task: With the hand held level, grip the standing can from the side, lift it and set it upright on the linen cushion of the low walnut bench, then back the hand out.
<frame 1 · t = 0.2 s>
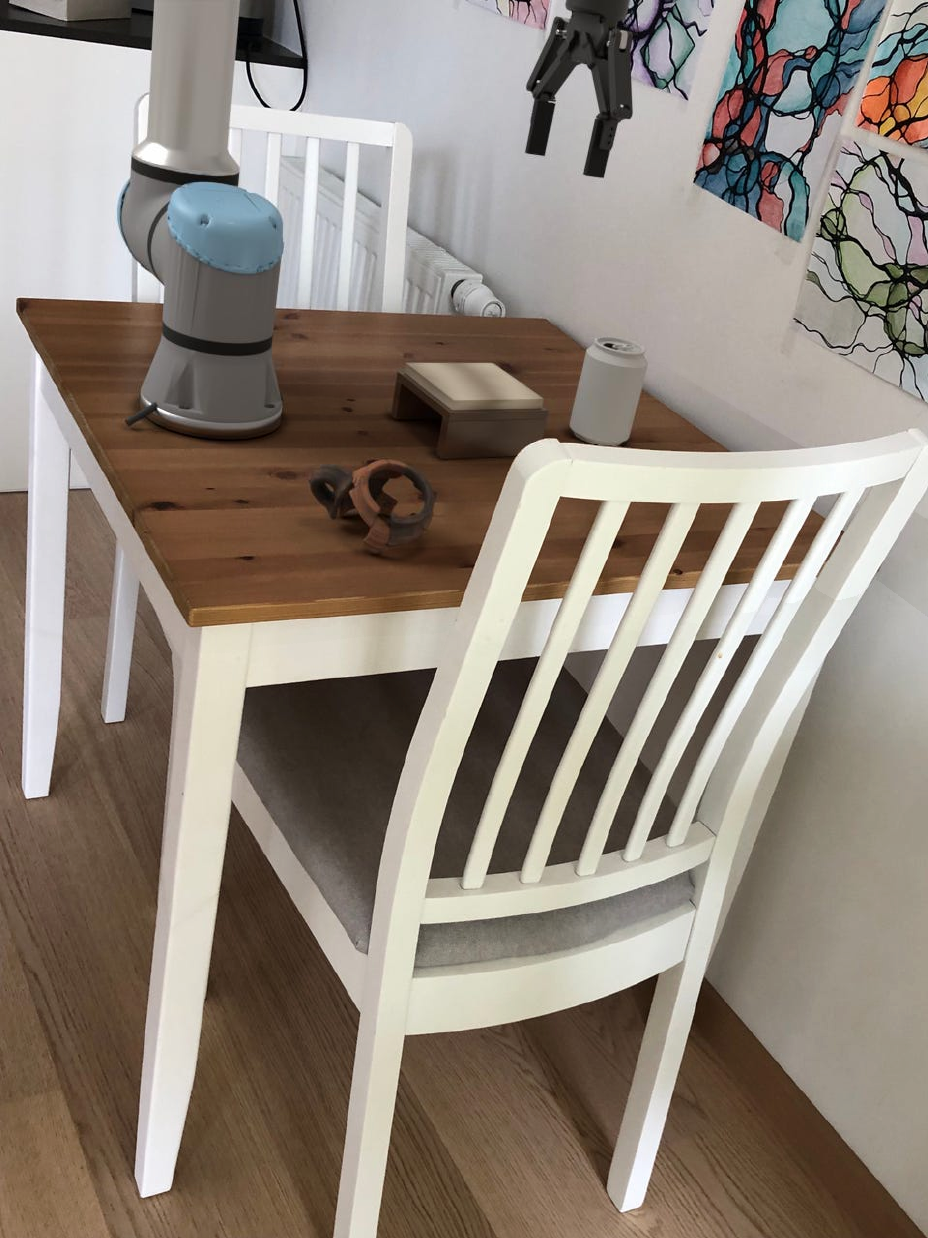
hand: (563, 165, 157), 27 cm above the table, tool pointing down, fingers open, 13 cm apart
can: (597, 438, 152), on the table
broken clay pot: (365, 533, 117), on the table
bench: (464, 435, 145), on the table
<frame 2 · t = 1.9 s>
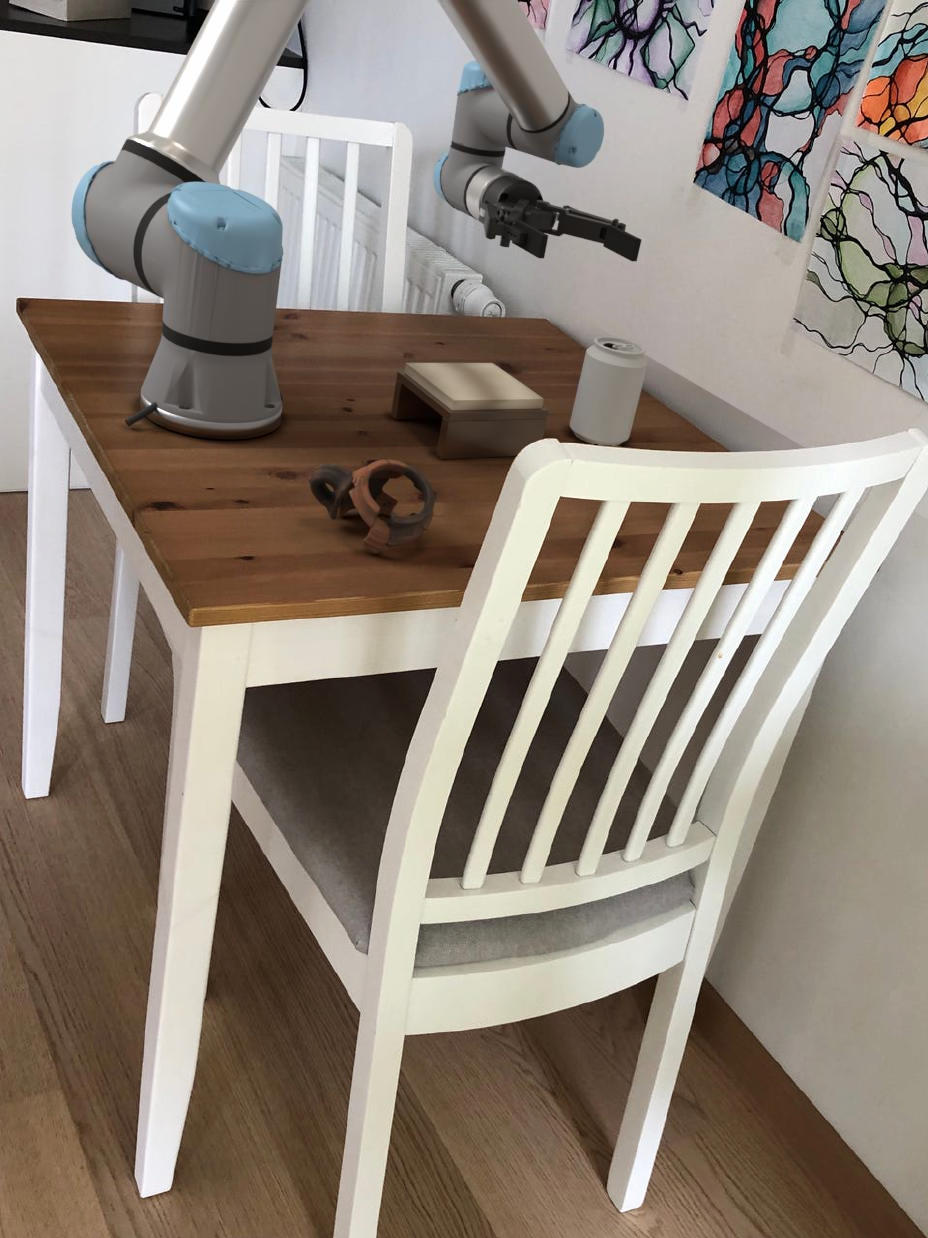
hand: (591, 248, 149), 21 cm above the table, tool horizontal, fingers open, 13 cm apart
nothing on the table moved.
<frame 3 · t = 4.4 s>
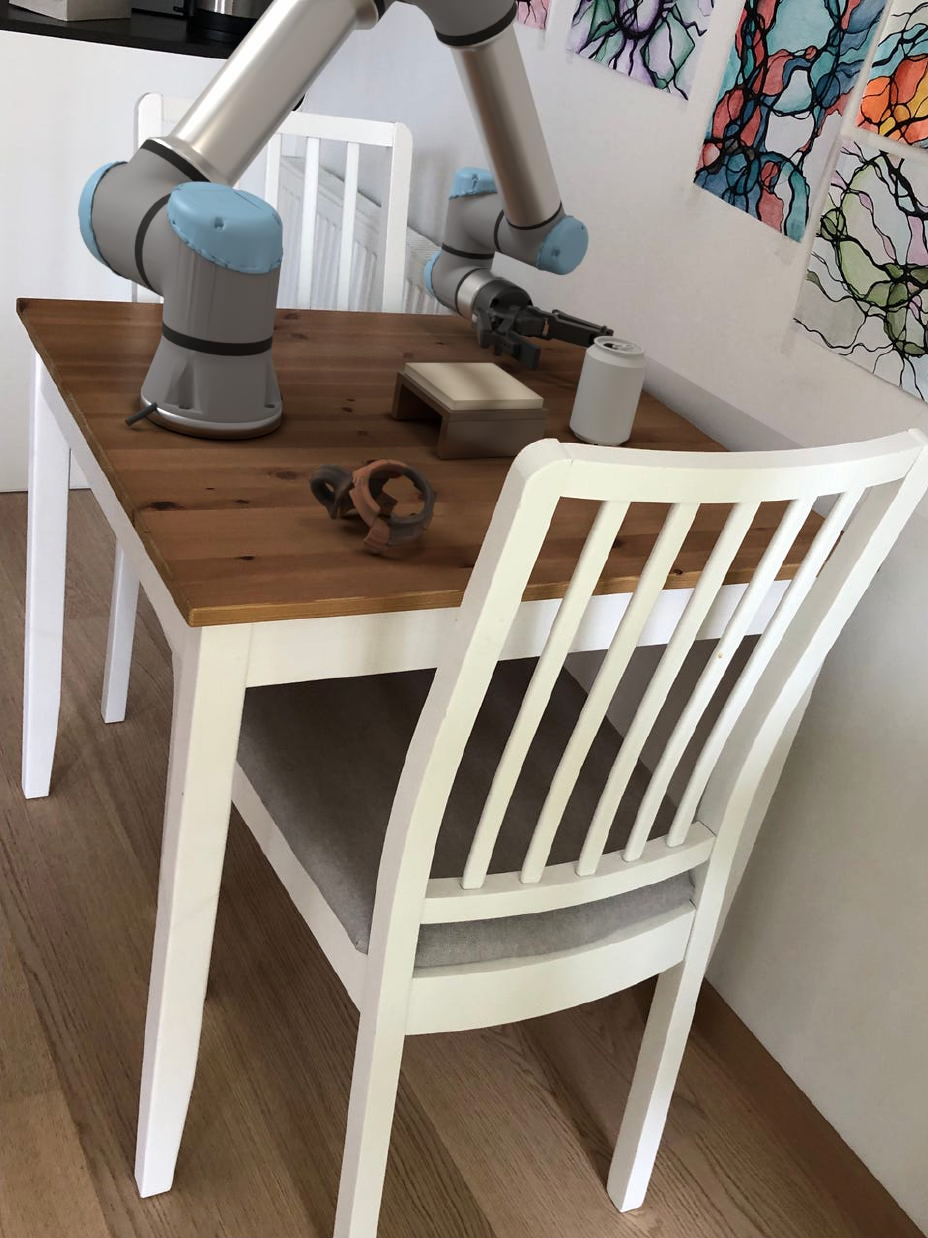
hand: (582, 359, 153), 8 cm above the table, tool horizontal, fingers open, 13 cm apart
nothing on the table moved.
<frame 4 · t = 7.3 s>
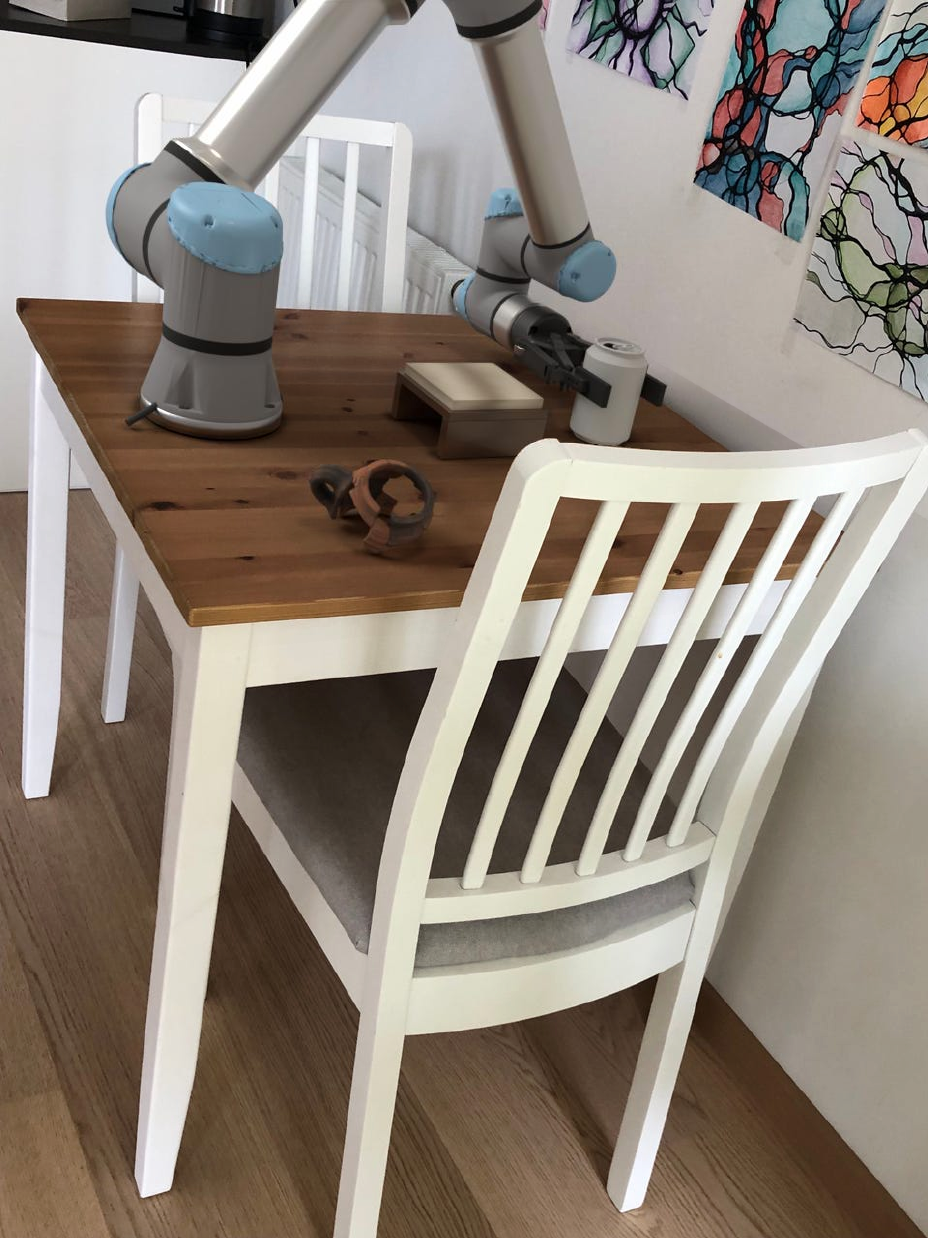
hand: (634, 396, 145), 7 cm above the table, tool horizontal, fingers closed on can, 7 cm apart
can: (597, 438, 152), on the table, touching gripper
everything else where it was.
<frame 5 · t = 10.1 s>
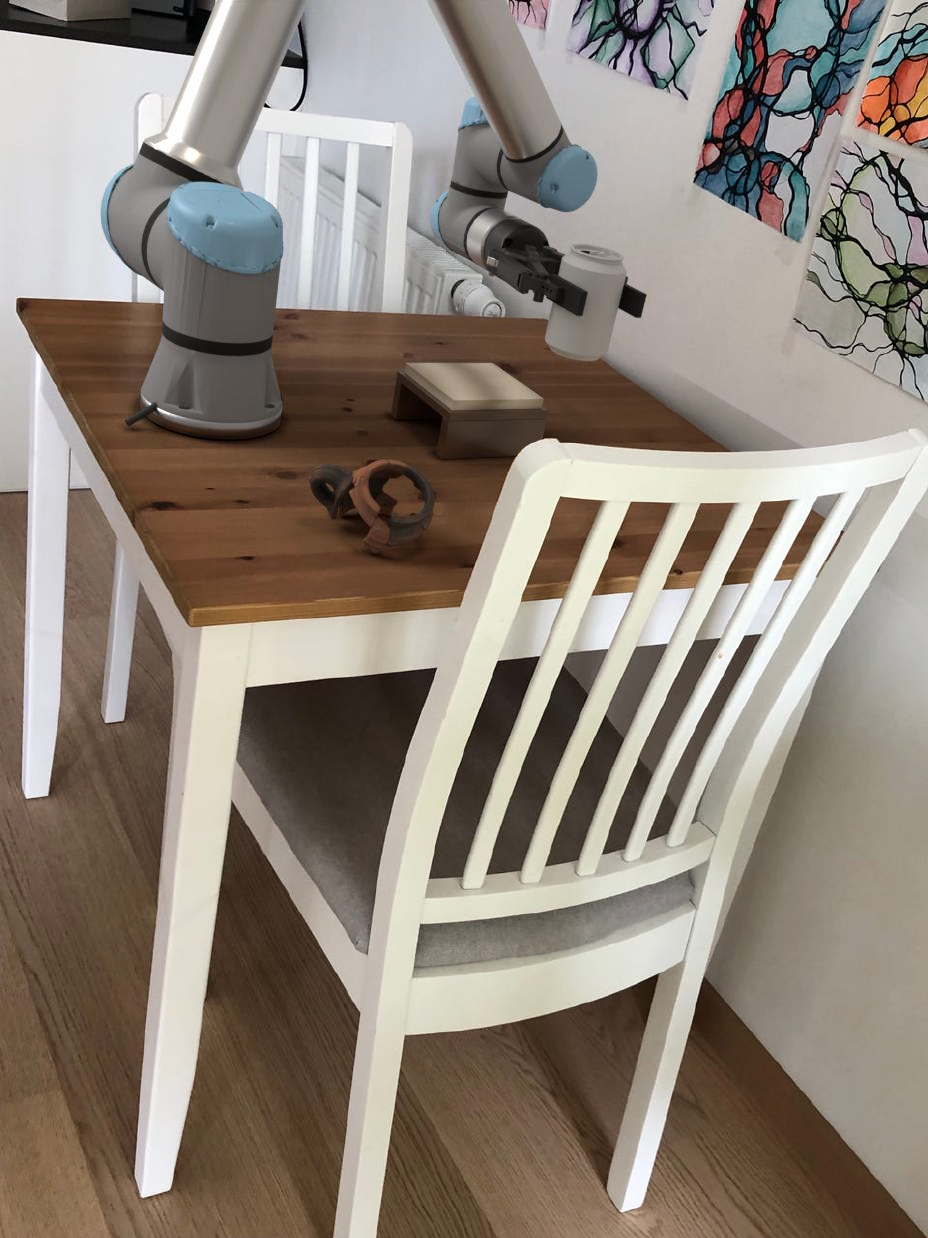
hand: (612, 304, 138), 18 cm above the table, tool horizontal, fingers closed on can, 7 cm apart
can: (574, 354, 145), point 10 cm above the table, touching gripper
everything else where it was.
when the fingers open (14 cm above the table, at t = 13.3 s): can stays where it is, resting on bench.
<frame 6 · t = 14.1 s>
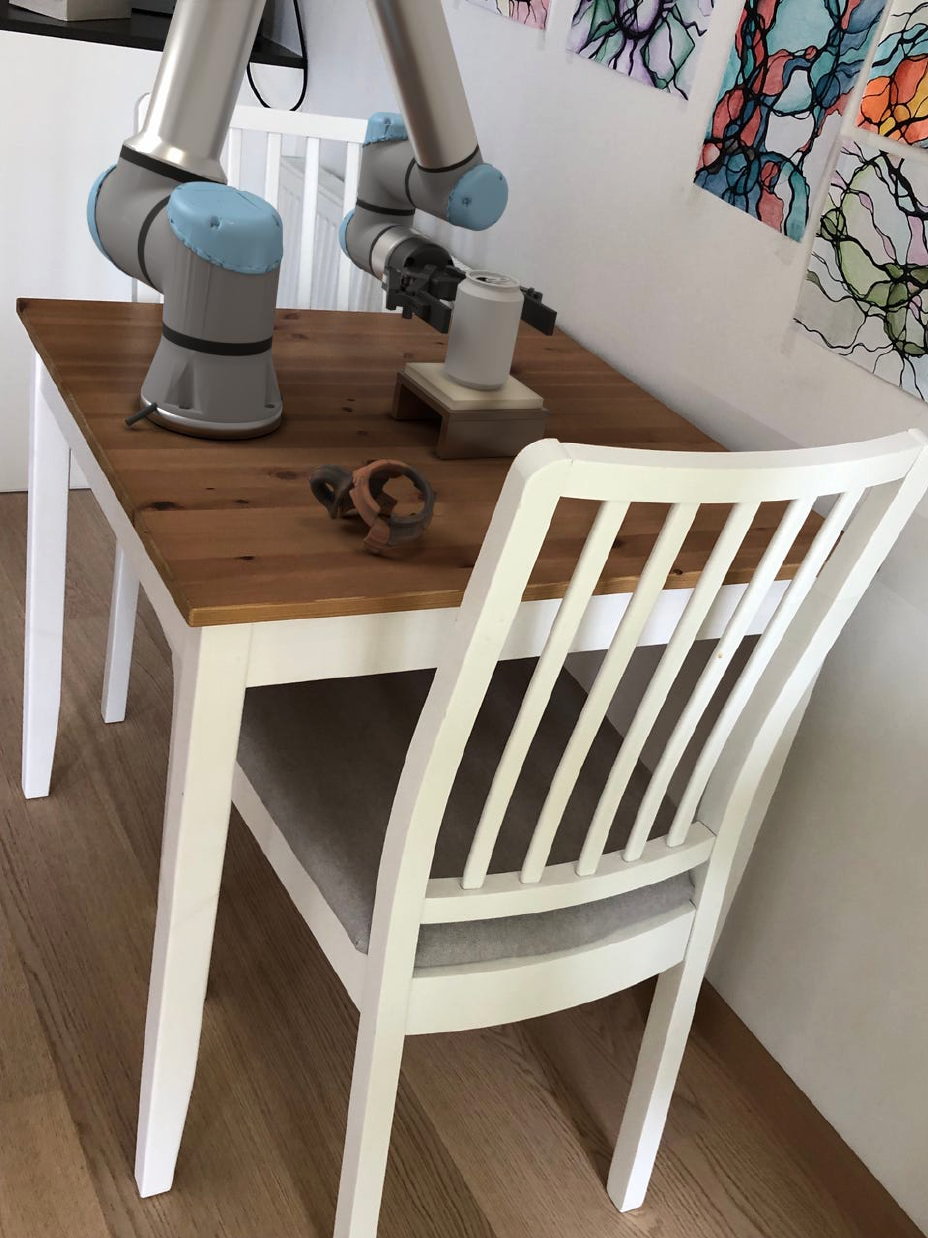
hand: (501, 322, 135), 15 cm above the table, tool horizontal, fingers open, 13 cm apart
can: (474, 381, 142), point 7 cm above the table, touching bench
everything else where it was.
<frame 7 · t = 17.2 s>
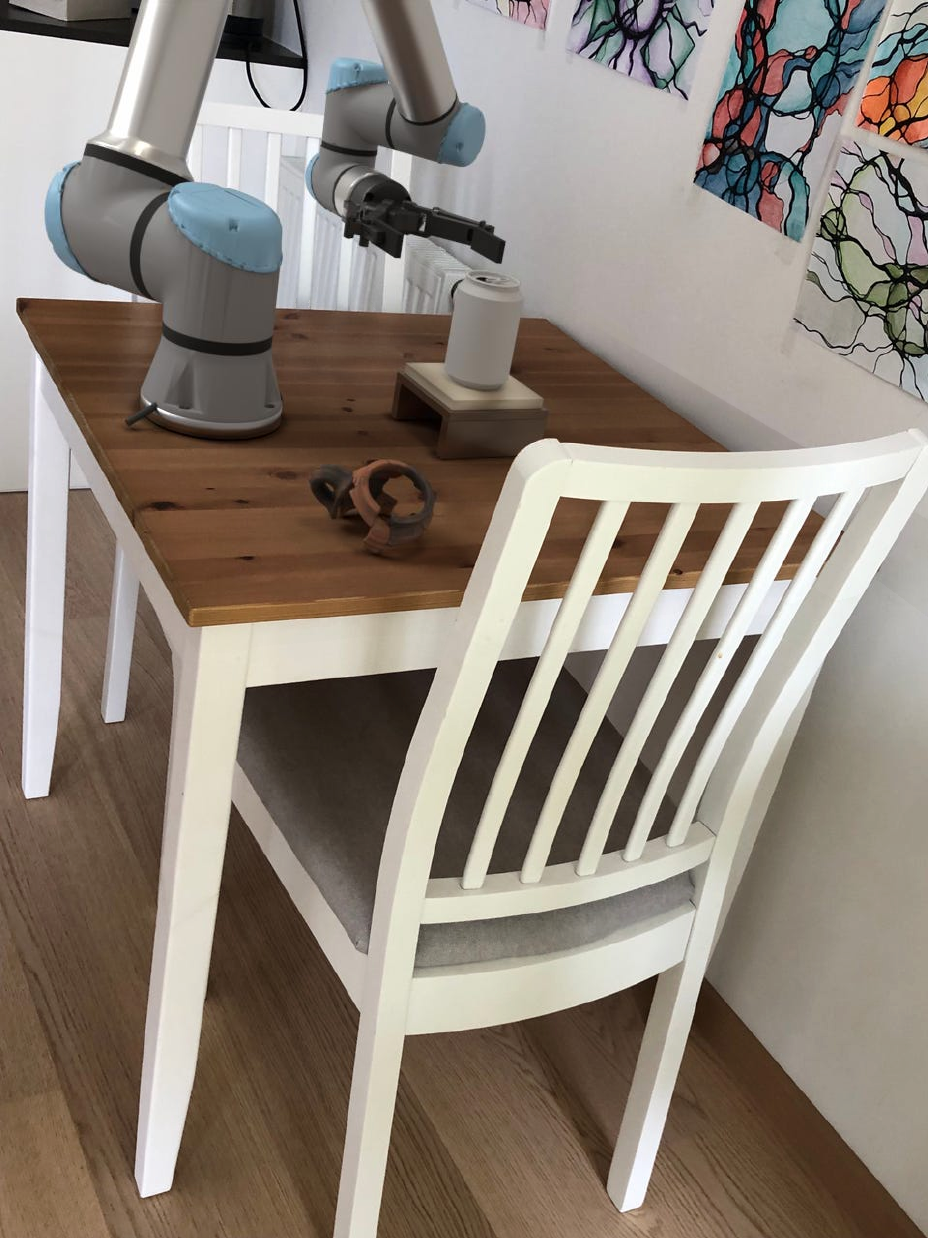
hand: (451, 249, 144), 19 cm above the table, tool horizontal, fingers open, 13 cm apart
nothing on the table moved.
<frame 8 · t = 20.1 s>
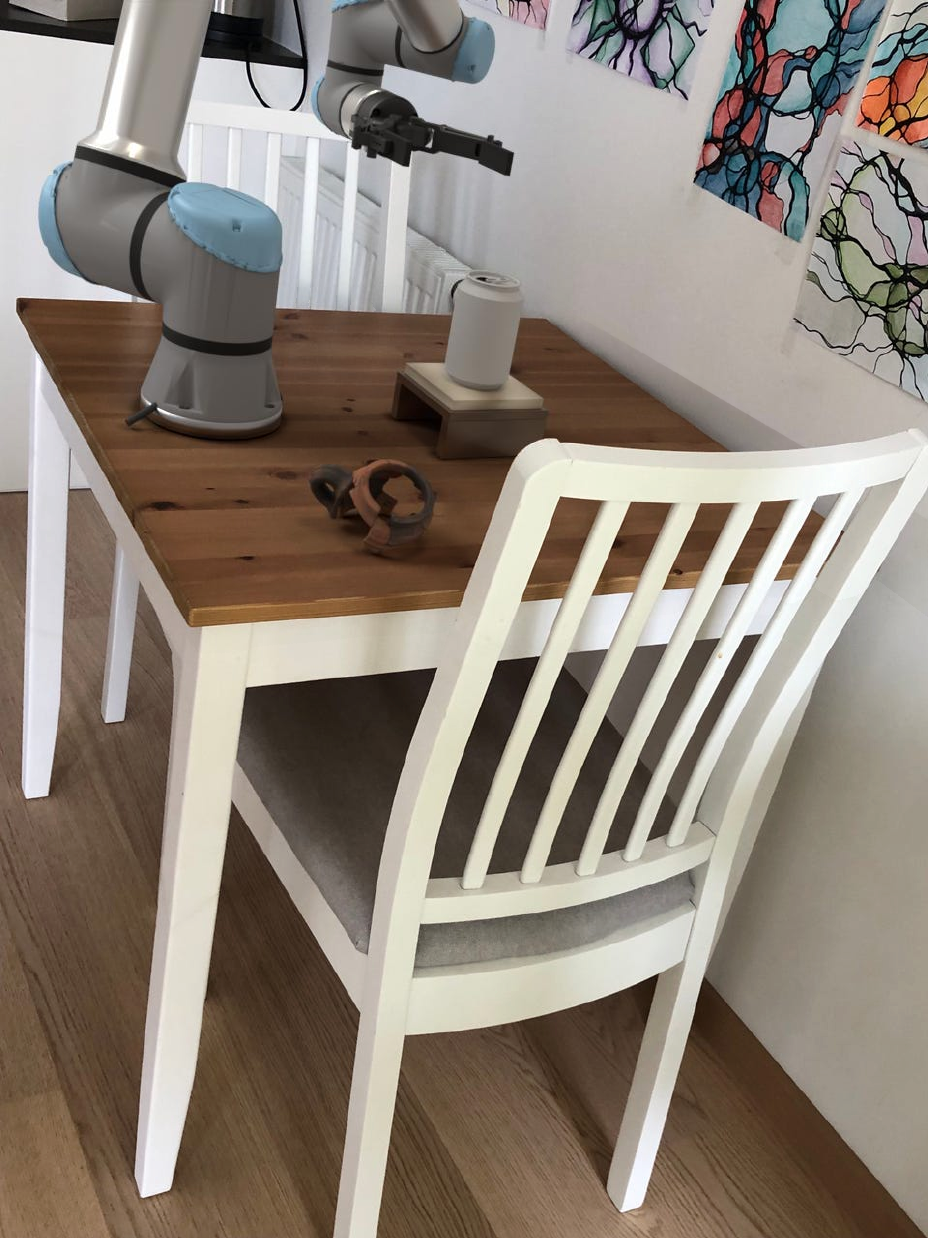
hand: (460, 159, 143), 28 cm above the table, tool horizontal, fingers open, 13 cm apart
nothing on the table moved.
at the end: can inside the target area on the bench (0.1 cm from its centre), point 6.5 cm above the bench's base; can tilted 0°; the gripper is holding nothing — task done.
